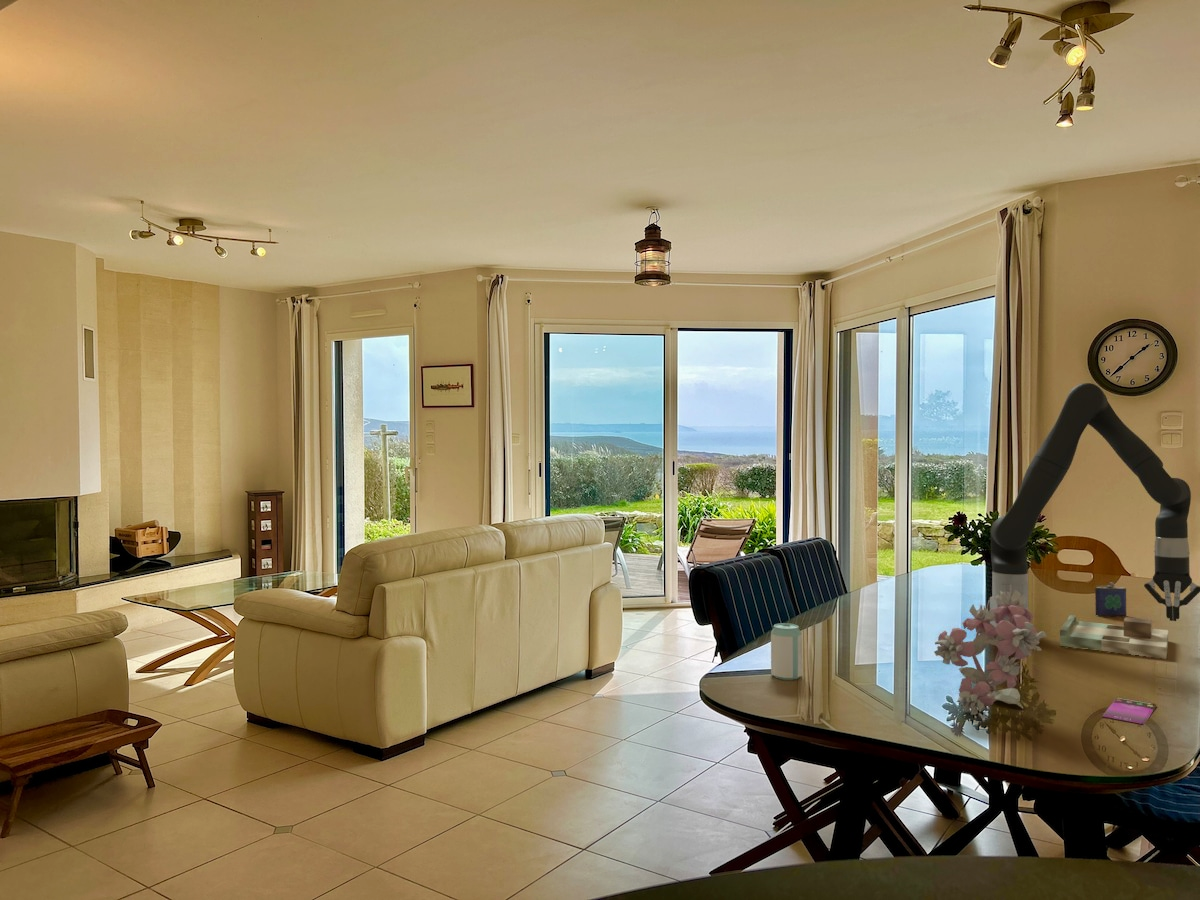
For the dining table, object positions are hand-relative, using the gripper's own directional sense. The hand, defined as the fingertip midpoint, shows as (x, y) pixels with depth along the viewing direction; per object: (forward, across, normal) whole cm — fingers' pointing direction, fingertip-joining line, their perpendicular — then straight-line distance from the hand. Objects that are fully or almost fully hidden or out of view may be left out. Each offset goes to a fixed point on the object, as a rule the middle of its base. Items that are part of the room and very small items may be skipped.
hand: (1172, 620), depth 219 cm
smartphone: (+8, +7, +65) cm, 66 cm away
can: (+7, +75, +79) cm, 109 cm away
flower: (+7, +31, +78) cm, 85 cm away
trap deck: (+8, +13, 0) cm, 15 cm away
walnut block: (+5, +8, 0) cm, 9 cm away
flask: (+8, +16, -41) cm, 45 cm away
